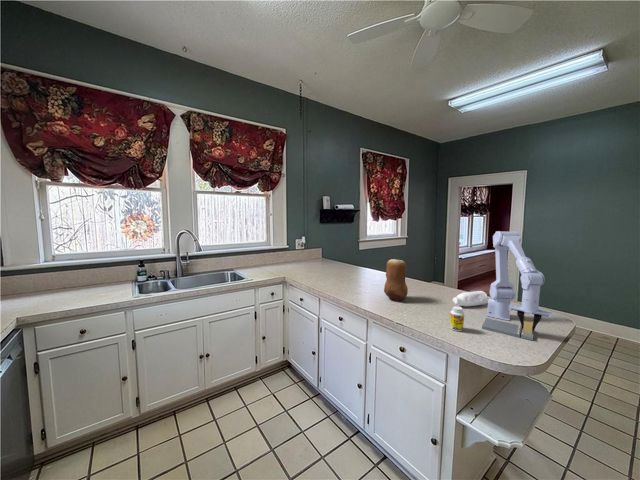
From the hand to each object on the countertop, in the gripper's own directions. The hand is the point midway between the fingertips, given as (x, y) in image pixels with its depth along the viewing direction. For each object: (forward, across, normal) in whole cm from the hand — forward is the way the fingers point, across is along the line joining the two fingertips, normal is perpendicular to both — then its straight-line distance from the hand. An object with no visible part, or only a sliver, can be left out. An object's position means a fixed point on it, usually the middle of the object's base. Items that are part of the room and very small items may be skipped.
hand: (527, 329), depth 116 cm
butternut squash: (+3, -64, +7) cm, 65 cm away
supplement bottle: (+3, -25, -14) cm, 29 cm away
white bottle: (+3, -26, +23) cm, 35 cm away
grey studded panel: (+2, -9, 0) cm, 10 cm away
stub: (+2, 0, 0) cm, 2 cm away
